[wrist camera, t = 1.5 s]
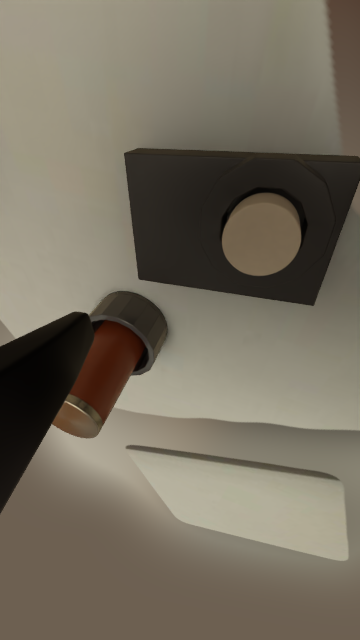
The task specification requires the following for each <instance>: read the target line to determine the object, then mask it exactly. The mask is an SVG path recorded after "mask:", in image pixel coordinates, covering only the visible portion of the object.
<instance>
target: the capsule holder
mask: <svg viewBox="0 0 360 640" xmlns="http://www.w3.org/2000/svg"><path fill="white" fill-rule="evenodd" d="M89 316H90V319H91V323H92V326H93V330H94V332H95V331H96V329H97V328H98V327H99V326H100V325H101V323H102V322H103V321H104V320H109V321H114V322H118V323H120V324H122V325H124V326H126V327H128V328H130V329H131V330H132V331H133V332H135V333H136V334H137V335H138V336H139V337H140V338H141V339H142V340H143V342H144V344H145V346H146V349H145V350H144V352H143V354H142V356H141V358H140V360H139V361H138V363H137V365H136V367H135V369H134V370H133V372H132V374H131V375H141V374H143V373H145V372H147V371H149V370H150V369H151V367H152V365H153V363H154V362H155V360H156V358H157V356H158V354H159V351H160V349H161V347H162V345H163V343H164V341H165V339H166V336H167V324H166V321H165V318H164V316H163V315H162V313H161V312H160V310H159V309H158V308H157V307H156V306H155V305H154V304H153V303H152V302H150V301H149V300H147V299H146V298H144V297H142V296H140V295H137V294H134V293H130V292H115V293H112V294H110V295H108V296H106V297H105V298H104V299H103V300H102V301H101V302H100V303H99V304H98V305H97V307H96V308H95V309H94V310H93V311H92V312H91V313H90V314H89Z"/></svg>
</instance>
